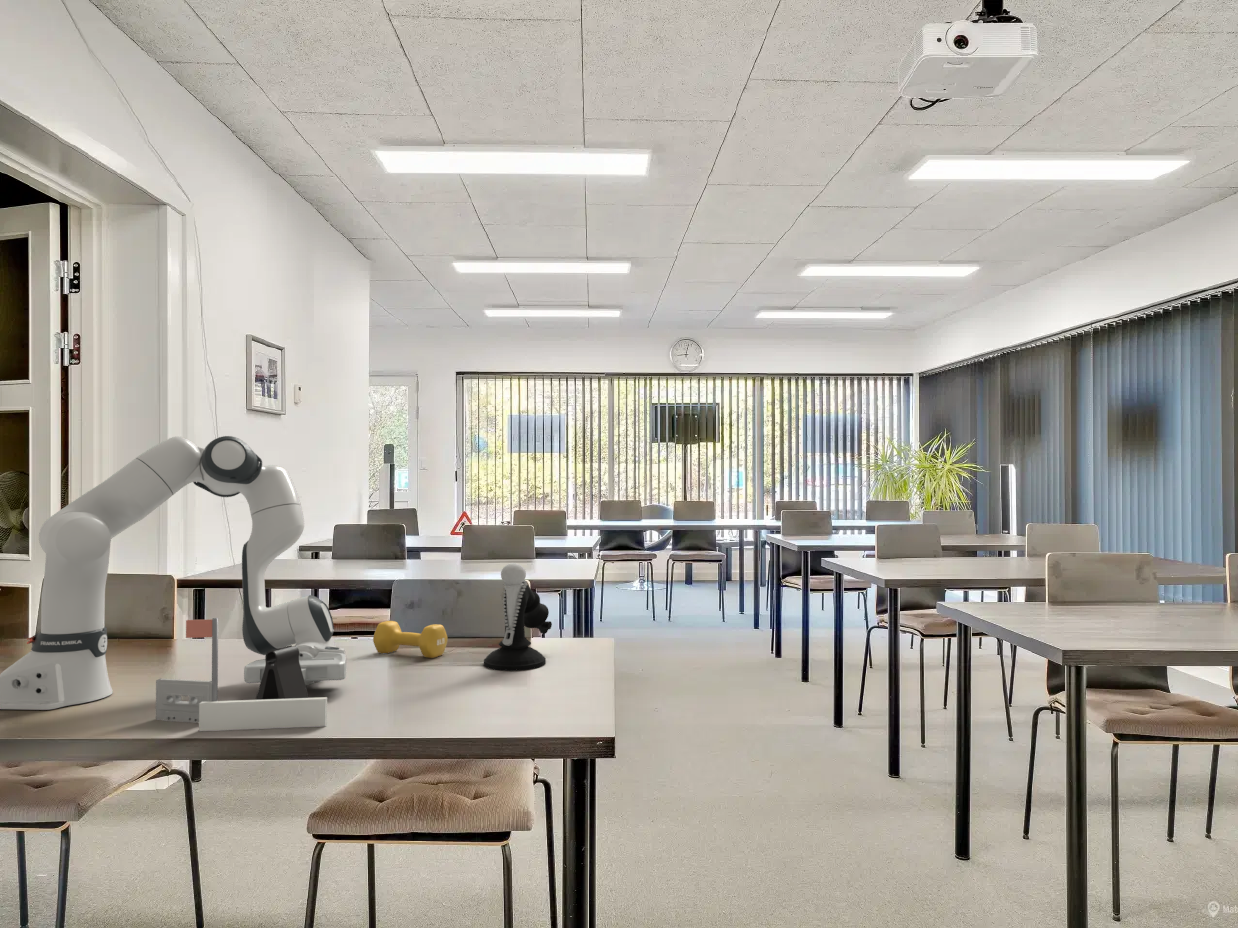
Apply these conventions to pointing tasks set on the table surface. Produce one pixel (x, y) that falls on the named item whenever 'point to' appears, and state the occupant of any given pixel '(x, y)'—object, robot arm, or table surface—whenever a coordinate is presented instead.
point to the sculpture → (519, 623)
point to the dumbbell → (410, 639)
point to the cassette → (171, 703)
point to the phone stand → (282, 675)
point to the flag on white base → (251, 711)
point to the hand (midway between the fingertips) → (287, 678)
